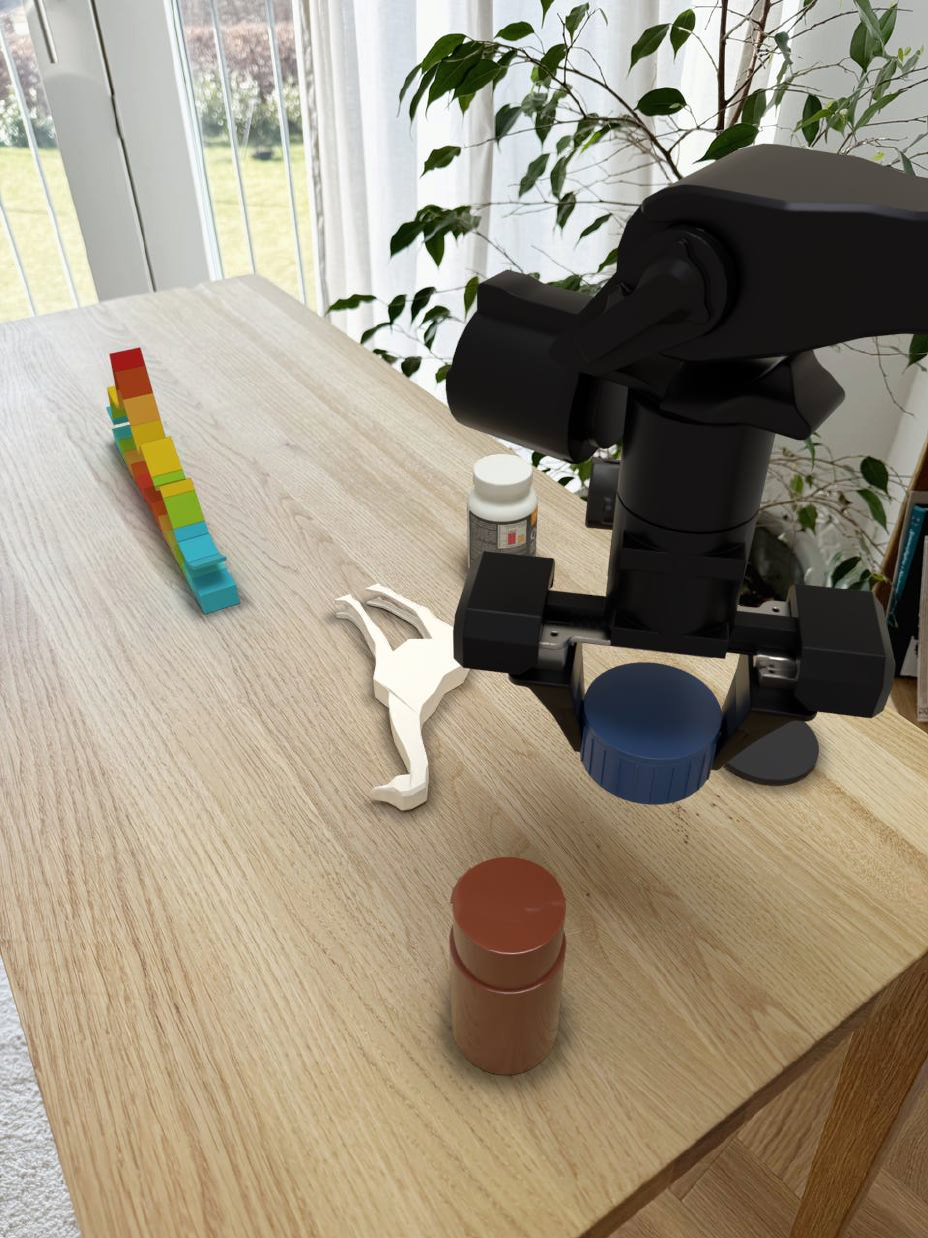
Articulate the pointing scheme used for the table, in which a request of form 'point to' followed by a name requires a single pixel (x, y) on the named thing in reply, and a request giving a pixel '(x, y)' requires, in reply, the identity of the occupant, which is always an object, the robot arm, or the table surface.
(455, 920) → the jar
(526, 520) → the pill bottle
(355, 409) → the table surface
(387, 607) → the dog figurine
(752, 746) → the coaster
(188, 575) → the chart
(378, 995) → the table surface
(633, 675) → the lid
